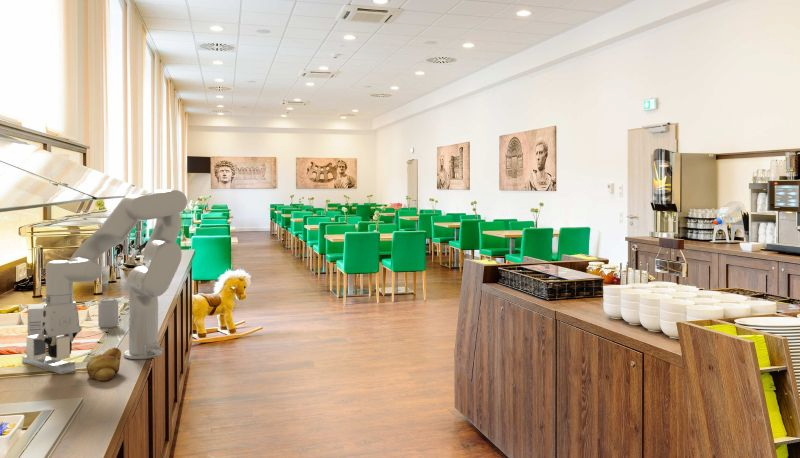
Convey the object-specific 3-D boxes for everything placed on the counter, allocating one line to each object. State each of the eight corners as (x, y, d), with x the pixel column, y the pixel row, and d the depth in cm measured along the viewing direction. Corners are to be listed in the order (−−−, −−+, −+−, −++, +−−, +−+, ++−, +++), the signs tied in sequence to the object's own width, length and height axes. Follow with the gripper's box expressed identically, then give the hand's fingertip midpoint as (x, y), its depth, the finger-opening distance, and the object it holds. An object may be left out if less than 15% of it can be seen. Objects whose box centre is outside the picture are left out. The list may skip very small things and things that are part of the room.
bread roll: (117, 382, 179) (117, 356, 179) (82, 384, 176) (82, 358, 175) (122, 369, 191) (122, 345, 191) (88, 371, 188) (88, 347, 188)
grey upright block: (94, 327, 242) (94, 299, 242) (109, 324, 249) (109, 296, 248) (107, 330, 240) (107, 301, 239) (122, 326, 247) (122, 298, 246)
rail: (75, 370, 188) (75, 343, 187) (61, 374, 184) (61, 346, 184) (36, 358, 199) (36, 332, 198) (22, 362, 195) (22, 335, 194)
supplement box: (28, 344, 216) (27, 304, 215) (56, 341, 220) (56, 302, 219) (27, 350, 208) (26, 309, 207) (56, 347, 212) (56, 307, 211)
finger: (69, 357, 189) (69, 336, 188) (57, 360, 185) (57, 338, 185) (61, 355, 191) (61, 334, 191) (49, 358, 188) (48, 336, 187)
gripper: (39, 304, 178) (40, 363, 179) (91, 296, 192) (91, 351, 193) (25, 301, 181) (26, 359, 183) (78, 294, 196) (78, 347, 197)
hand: (60, 354), depth 188 cm, fingers closed on finger, 3 cm apart
